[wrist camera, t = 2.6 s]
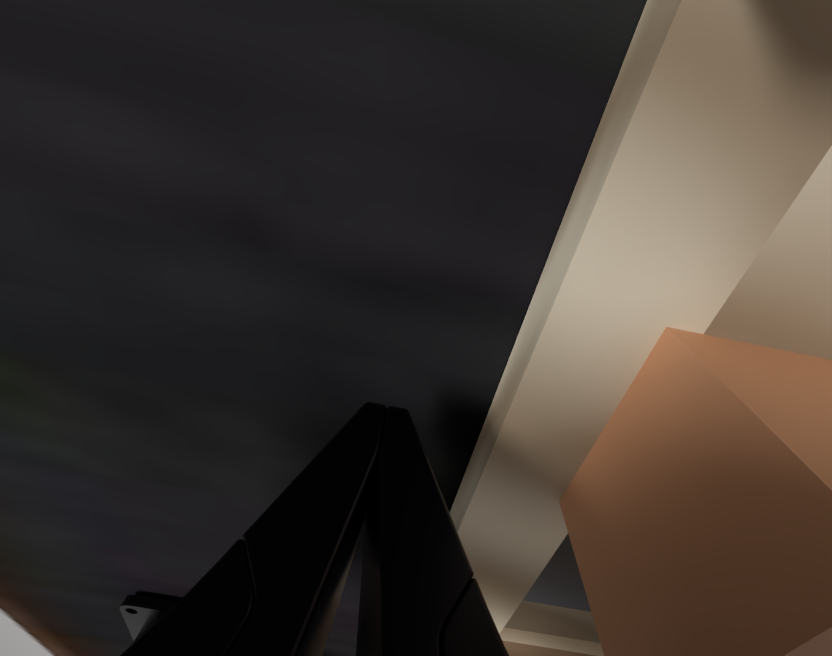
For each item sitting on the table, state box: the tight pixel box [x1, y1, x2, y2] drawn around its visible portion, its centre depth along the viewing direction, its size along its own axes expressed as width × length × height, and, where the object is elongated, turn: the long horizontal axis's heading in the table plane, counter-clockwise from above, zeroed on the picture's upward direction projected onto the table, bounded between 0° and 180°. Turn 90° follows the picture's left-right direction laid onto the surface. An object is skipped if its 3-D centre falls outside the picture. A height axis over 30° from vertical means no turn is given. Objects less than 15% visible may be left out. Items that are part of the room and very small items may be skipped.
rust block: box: [559, 327, 832, 656], centre depth 7 cm, size 6×6×4 cm
